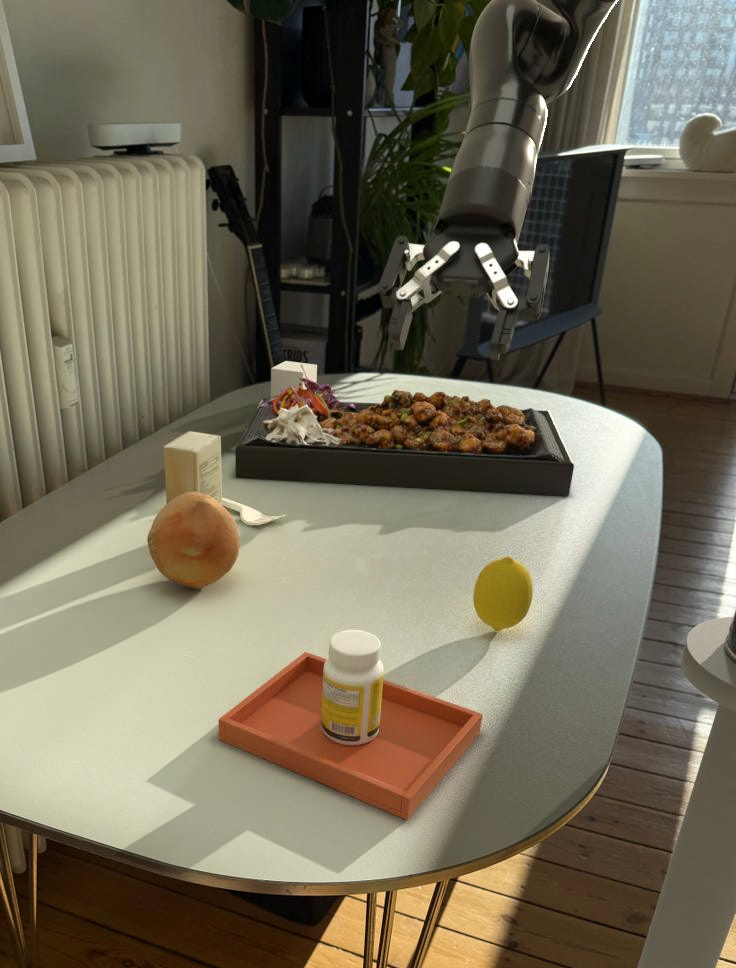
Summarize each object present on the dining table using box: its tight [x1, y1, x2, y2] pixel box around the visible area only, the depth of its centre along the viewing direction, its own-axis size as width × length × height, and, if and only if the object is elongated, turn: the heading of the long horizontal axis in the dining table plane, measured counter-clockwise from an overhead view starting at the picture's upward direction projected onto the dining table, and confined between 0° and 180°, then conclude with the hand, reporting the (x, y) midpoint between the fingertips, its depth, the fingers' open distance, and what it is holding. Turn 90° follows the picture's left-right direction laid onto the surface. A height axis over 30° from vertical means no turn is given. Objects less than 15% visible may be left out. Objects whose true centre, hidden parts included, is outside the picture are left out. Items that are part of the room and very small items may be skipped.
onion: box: [146, 491, 241, 589], centre depth 99 cm, size 10×10×10 cm
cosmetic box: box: [163, 430, 223, 506], centre depth 108 cm, size 6×4×12 cm
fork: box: [222, 497, 288, 526], centre depth 119 cm, size 3×20×2 cm, turn 44°
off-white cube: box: [270, 360, 318, 398], centre depth 161 cm, size 6×6×6 cm
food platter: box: [234, 364, 575, 497], centre depth 135 cm, size 45×25×10 cm, turn 82°
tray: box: [217, 651, 483, 821], centre depth 76 cm, size 17×13×2 cm
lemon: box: [472, 555, 534, 632], centre depth 90 cm, size 6×6×8 cm
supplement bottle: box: [321, 629, 385, 745], centre depth 74 cm, size 5×5×8 cm
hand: (444, 349), depth 81 cm, fingers open, 8 cm apart
